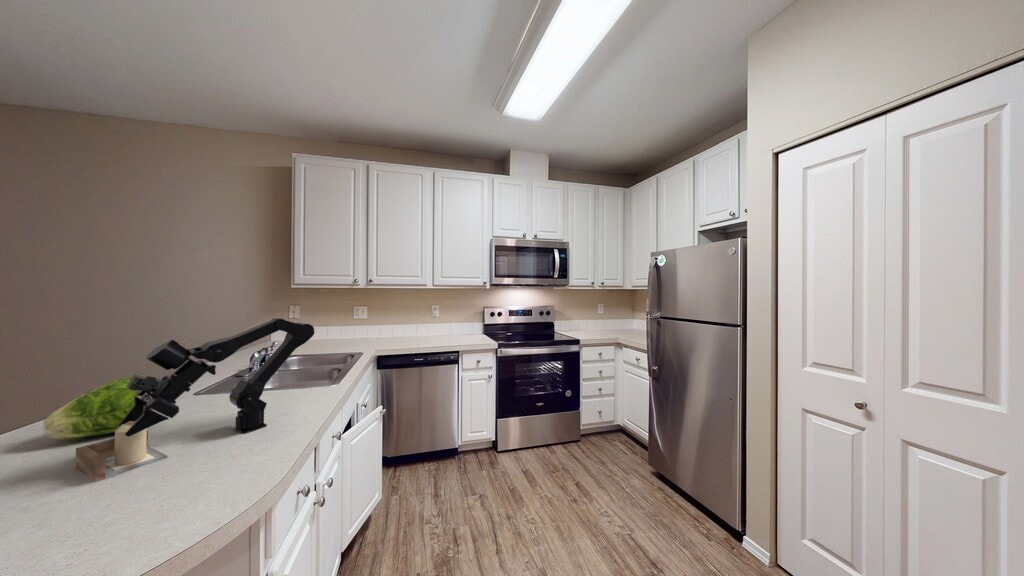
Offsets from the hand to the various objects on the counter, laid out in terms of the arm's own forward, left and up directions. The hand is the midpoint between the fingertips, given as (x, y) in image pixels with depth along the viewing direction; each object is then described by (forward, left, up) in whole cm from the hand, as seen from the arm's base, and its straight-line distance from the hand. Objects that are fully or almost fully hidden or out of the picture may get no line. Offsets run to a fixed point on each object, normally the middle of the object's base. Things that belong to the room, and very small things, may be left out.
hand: (123, 430), depth 86 cm
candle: (-1, 0, -8) cm, 9 cm away
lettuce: (-5, -31, -9) cm, 32 cm away
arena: (0, -2, -9) cm, 9 cm away
